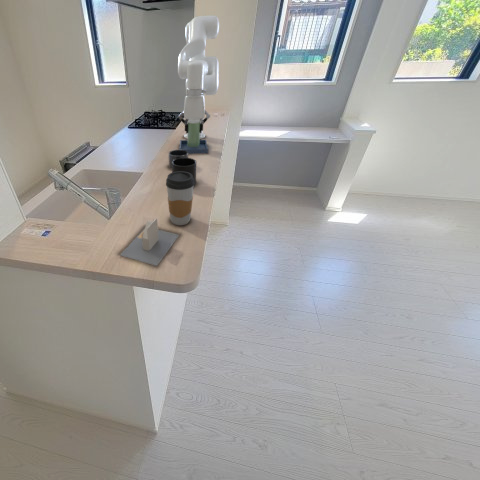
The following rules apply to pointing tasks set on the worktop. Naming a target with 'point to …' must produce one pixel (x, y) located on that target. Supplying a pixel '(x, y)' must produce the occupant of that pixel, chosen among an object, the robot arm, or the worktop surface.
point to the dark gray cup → (177, 155)
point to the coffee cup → (180, 196)
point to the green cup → (193, 133)
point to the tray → (200, 149)
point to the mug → (185, 166)
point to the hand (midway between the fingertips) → (193, 132)
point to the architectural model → (150, 244)
